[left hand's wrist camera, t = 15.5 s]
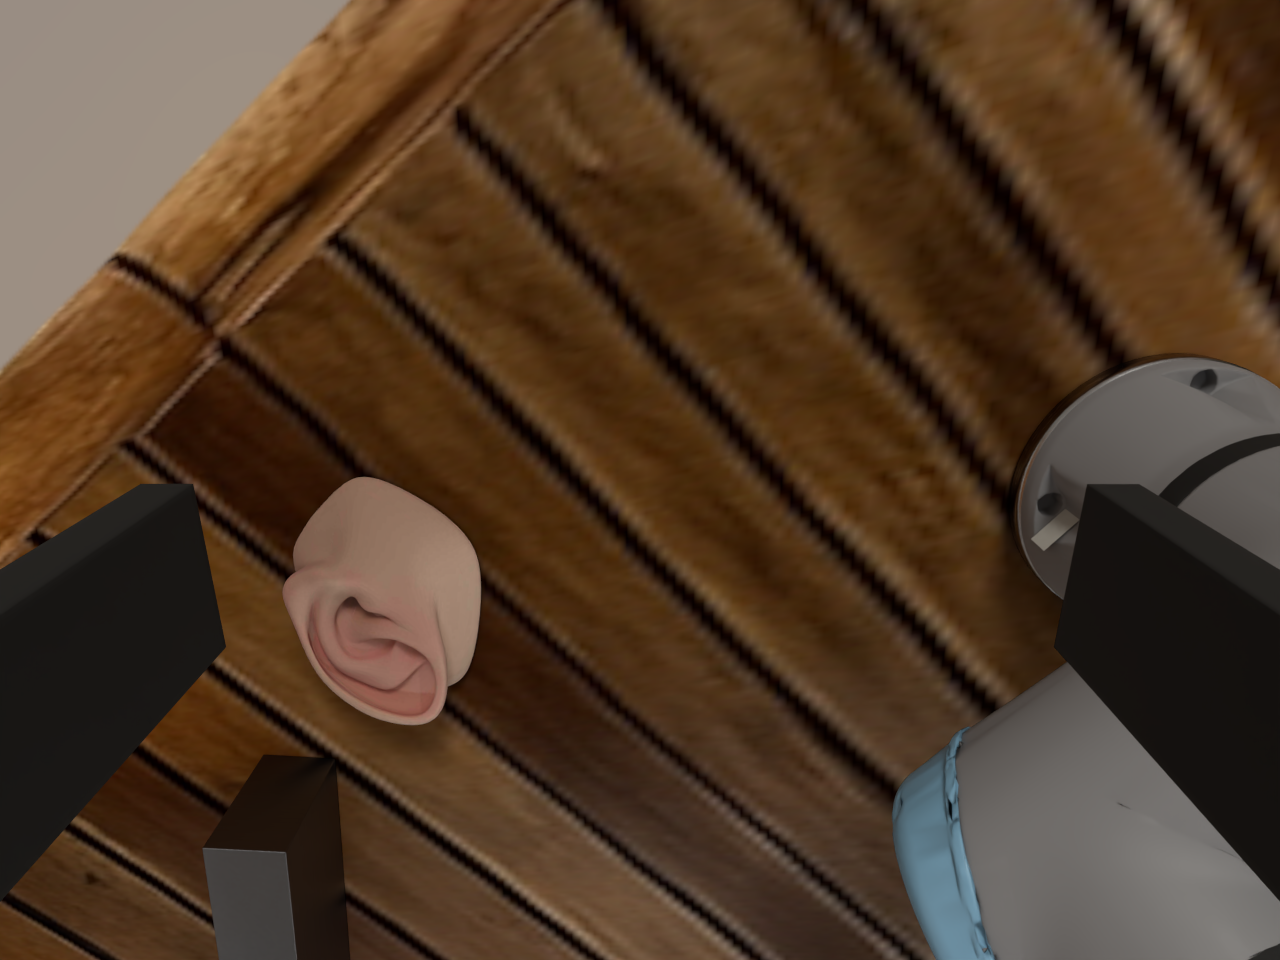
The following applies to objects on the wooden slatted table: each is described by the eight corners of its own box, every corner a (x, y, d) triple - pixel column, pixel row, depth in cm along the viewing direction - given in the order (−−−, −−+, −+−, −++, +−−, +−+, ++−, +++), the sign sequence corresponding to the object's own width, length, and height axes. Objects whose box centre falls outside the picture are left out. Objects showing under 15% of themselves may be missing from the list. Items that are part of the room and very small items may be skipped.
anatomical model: (283, 483, 41) (502, 547, 43) (312, 458, 45) (513, 517, 46) (244, 694, 46) (444, 746, 47) (274, 655, 49) (458, 704, 51)
